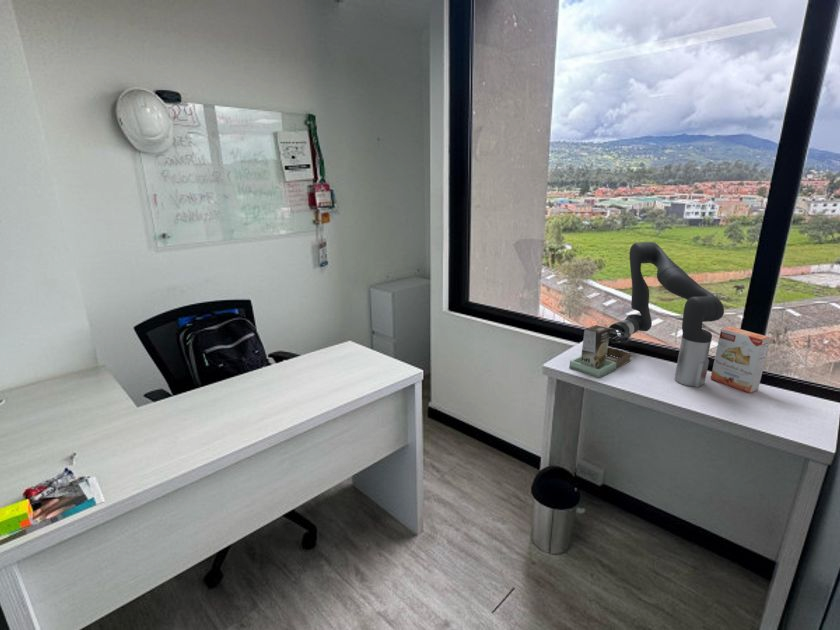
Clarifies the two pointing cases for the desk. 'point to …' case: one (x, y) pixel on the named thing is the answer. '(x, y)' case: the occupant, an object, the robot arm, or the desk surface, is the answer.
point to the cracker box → (740, 358)
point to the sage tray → (590, 370)
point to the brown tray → (621, 355)
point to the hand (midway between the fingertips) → (602, 338)
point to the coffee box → (595, 346)
